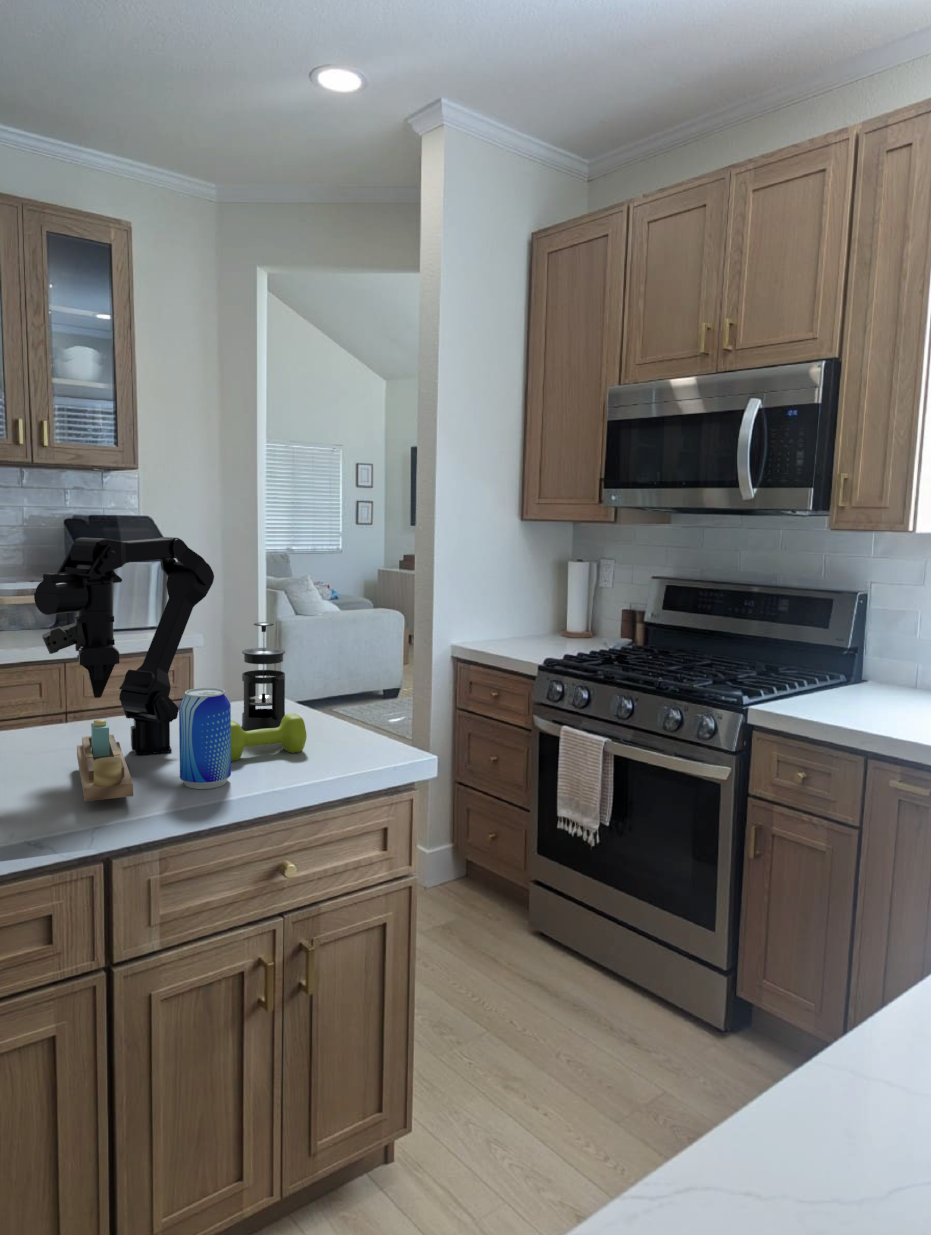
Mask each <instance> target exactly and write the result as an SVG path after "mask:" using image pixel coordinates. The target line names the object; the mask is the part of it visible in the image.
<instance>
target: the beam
mask: <svg viewBox="0 0 931 1235" xmlns="http://www.w3.org/2000/svg"><path fill="white" fill-rule="evenodd" d="M81 737H82V738H81V744H78V745H76V757H77V764H78V770H79V776H80V777H79V778H80V782H81V783H80V784H81V788H82V793H83V800H84V802H90V801H100V800H108V799H109V800H110V799H118V798H127V797H129V798H130V797H134V782H133V779H132V776H131V773H130V771H129V768H128V765H127V761H126V759H125V755H124V753H123V751H122V748H121V744H120V742H119V741H116V739H115V736H114V734H109V753H110V756H103V757H93V754H92V738H91V735H90V736H89V735H88V736H81Z"/></svg>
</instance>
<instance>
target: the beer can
mask: <svg viewBox="0 0 931 1235" xmlns="http://www.w3.org/2000/svg"><path fill="white" fill-rule="evenodd" d="M225 693H226V690H224V689H222V688H217V687H197V688H192V689H191V688H190V689H188V690H186V691H185V692H184V696H183V698H182V700H181V701H180V702H179V705H178V708H179V711H178V720H179V722H178V725H179V726H178V728H179V729H178V730H179V733H178V734H179V744H178V745H179V778H180V780H181V781H182V782H183V785H184V786H185V787H187V788H188V789H196V790H210V789H216V788H219V787H222V786H224V785H226V783H227V781H228V779H229V778H230V777H231V774H232V761H231V720H232V719H231V718H232V716H231V715H232V714H231V712H232V711H231V710H232V709H231V708H232V707H231V702H230V700H229V698H228V697H227V695H226V694H225Z"/></svg>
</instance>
